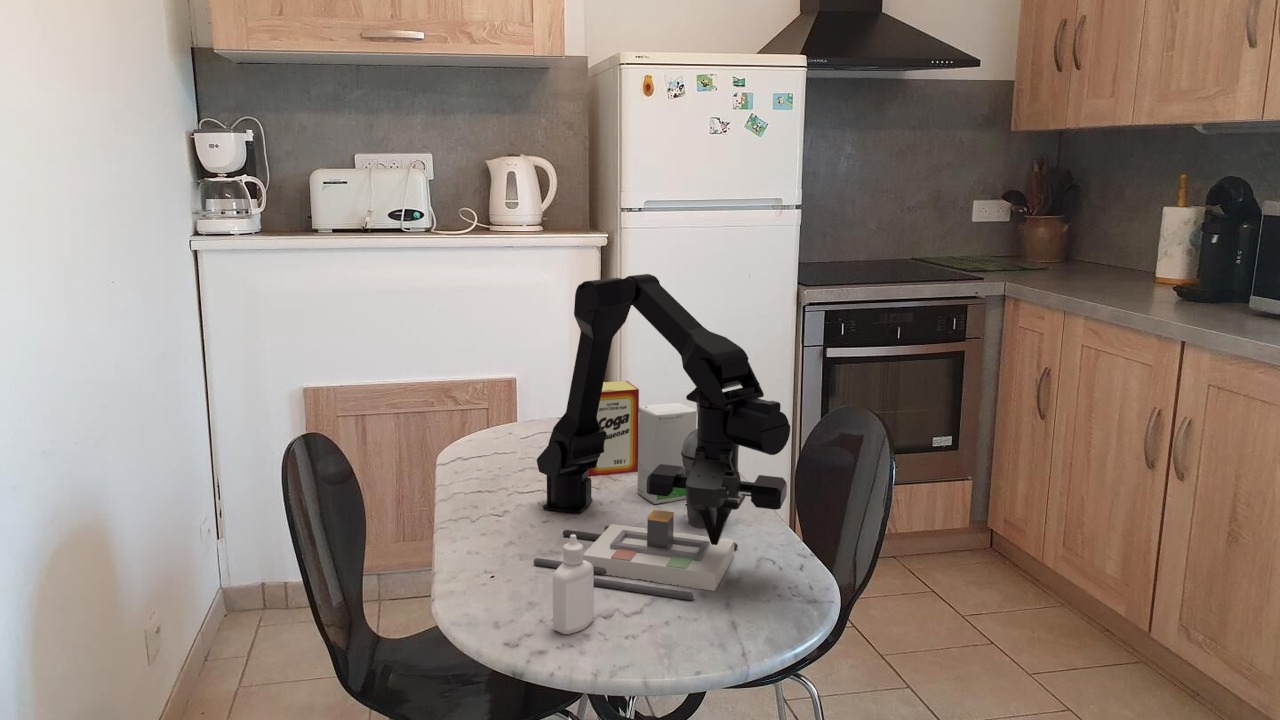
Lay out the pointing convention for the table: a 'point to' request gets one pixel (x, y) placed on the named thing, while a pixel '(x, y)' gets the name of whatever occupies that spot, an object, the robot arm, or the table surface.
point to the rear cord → (594, 535)
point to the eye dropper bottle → (573, 590)
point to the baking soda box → (618, 429)
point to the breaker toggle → (660, 529)
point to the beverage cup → (688, 460)
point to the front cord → (622, 584)
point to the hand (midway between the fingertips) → (714, 543)
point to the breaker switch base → (661, 557)
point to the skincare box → (662, 443)
